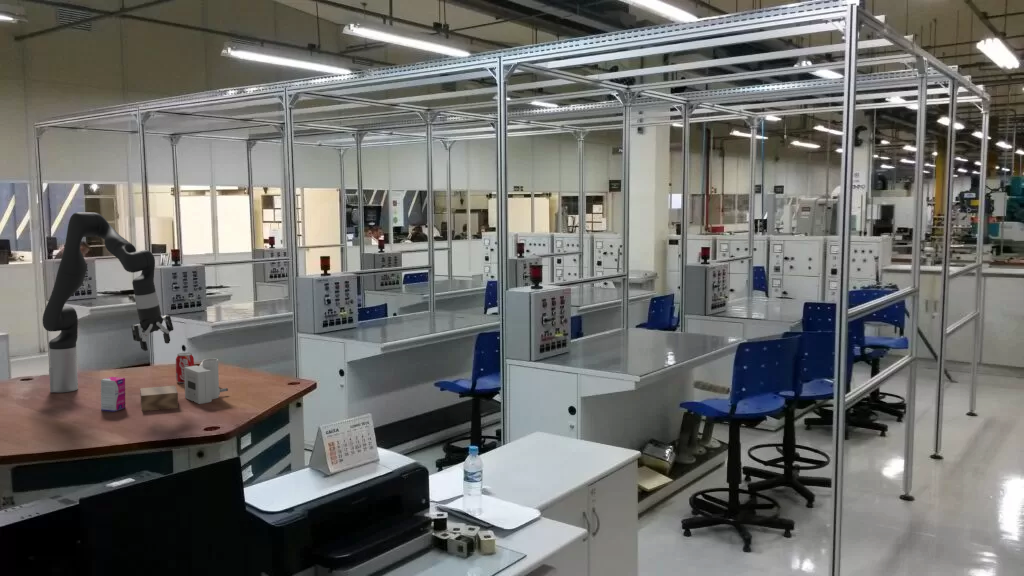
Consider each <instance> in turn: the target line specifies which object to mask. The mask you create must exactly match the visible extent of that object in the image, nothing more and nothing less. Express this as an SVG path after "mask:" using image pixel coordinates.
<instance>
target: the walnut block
mask: <svg viewBox="0 0 1024 576" xmlns="http://www.w3.org/2000/svg"><path fill="white" fill-rule="evenodd" d="M176 386H177V385H166V386H164V385H163V386H155V387H142V388H141V387H140V389H139V390H140V395H139V396H140V407H141V412H147V411H146V410H150V411H159V409H161V410H168V409H169V410H170V408H171V409H178V408H179V393H178V389H177V387H176Z"/></svg>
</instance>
